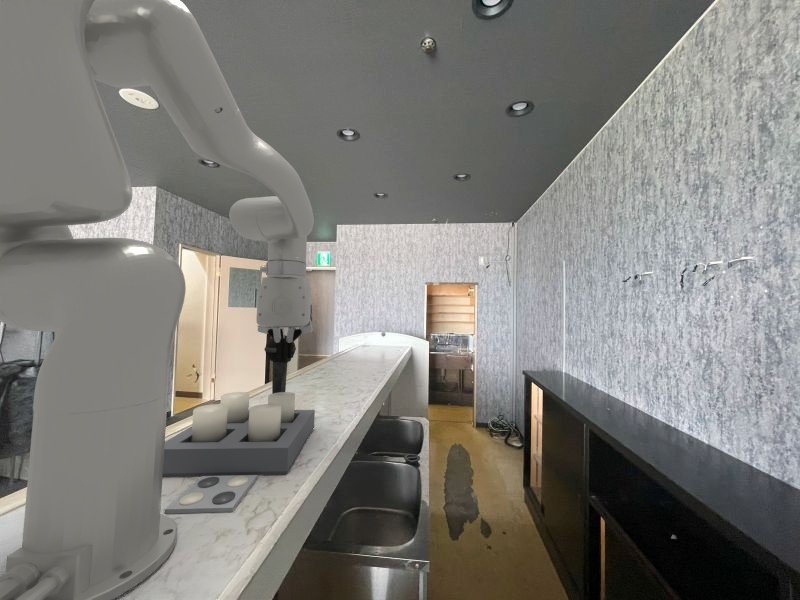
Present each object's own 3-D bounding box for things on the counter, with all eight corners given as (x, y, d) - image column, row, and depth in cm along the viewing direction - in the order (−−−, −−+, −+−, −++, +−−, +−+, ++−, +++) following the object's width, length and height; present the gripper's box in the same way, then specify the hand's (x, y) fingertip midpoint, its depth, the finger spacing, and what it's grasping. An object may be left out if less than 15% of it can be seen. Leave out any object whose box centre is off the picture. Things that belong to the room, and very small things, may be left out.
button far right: (290, 424, 59) (291, 398, 60) (263, 424, 59) (264, 398, 59) (296, 416, 64) (297, 392, 65) (272, 416, 64) (273, 392, 64)
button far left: (241, 425, 59) (242, 398, 59) (214, 425, 58) (215, 398, 59) (252, 416, 64) (253, 392, 64) (227, 416, 63) (228, 392, 64)
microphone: (271, 430, 66) (275, 335, 67) (255, 423, 70) (259, 334, 71) (299, 422, 71) (302, 334, 73) (282, 416, 75) (285, 333, 77)
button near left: (217, 444, 50) (218, 412, 50) (184, 444, 49) (186, 412, 50) (231, 432, 55) (233, 404, 55) (202, 433, 54) (203, 404, 55)
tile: (232, 511, 38) (232, 505, 38) (164, 513, 38) (164, 507, 38) (257, 478, 46) (257, 473, 46) (201, 479, 46) (202, 474, 46)
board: (287, 474, 47) (288, 447, 48) (149, 477, 46) (151, 449, 46) (314, 428, 67) (314, 409, 68) (218, 429, 66) (219, 410, 66)
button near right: (274, 443, 50) (275, 412, 51) (242, 443, 50) (244, 412, 50) (283, 432, 55) (284, 403, 56) (255, 432, 55) (256, 403, 55)
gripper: (241, 268, 59) (238, 365, 59) (320, 270, 60) (318, 365, 60) (256, 273, 67) (254, 358, 66) (326, 274, 68) (325, 359, 67)
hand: (284, 361), depth 63 cm, fingers closed
